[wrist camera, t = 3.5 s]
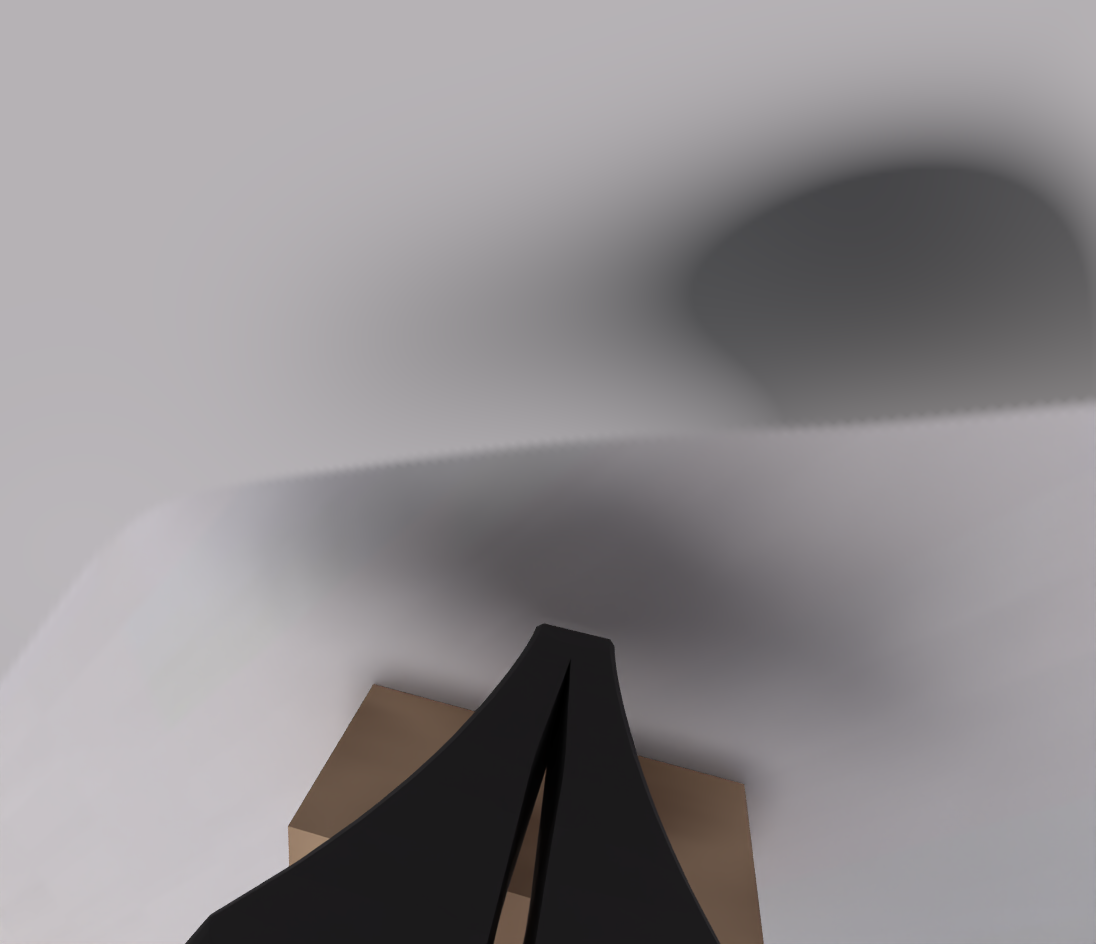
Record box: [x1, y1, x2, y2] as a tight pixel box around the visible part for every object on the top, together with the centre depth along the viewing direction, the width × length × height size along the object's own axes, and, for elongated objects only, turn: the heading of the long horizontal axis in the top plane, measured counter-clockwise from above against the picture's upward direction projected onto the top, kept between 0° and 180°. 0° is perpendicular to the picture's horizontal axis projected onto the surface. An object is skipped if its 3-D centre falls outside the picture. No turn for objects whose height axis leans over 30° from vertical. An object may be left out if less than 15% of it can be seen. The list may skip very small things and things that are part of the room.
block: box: [288, 684, 764, 944], centre depth 14 cm, size 9×6×4 cm, turn 81°
